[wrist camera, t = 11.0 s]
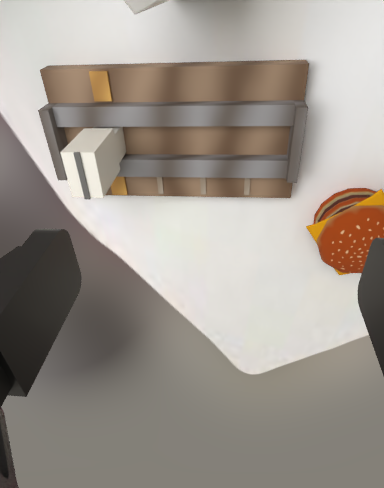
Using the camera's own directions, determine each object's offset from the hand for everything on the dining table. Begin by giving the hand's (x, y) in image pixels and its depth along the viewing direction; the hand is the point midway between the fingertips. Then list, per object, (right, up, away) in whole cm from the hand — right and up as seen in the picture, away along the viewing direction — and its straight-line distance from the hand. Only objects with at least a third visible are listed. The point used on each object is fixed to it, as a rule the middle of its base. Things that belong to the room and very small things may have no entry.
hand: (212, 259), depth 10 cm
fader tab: (-9, +12, +30) cm, 33 cm away
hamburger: (+19, +4, +35) cm, 40 cm away
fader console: (-2, +13, +31) cm, 33 cm away
